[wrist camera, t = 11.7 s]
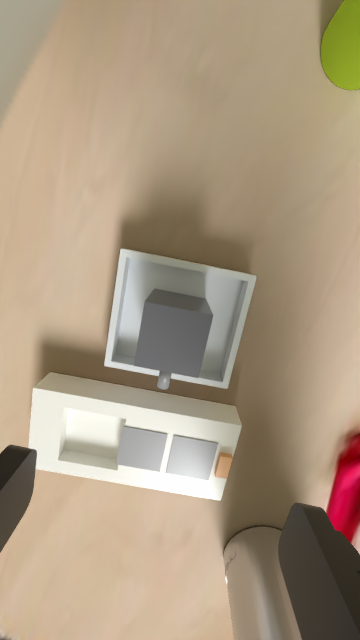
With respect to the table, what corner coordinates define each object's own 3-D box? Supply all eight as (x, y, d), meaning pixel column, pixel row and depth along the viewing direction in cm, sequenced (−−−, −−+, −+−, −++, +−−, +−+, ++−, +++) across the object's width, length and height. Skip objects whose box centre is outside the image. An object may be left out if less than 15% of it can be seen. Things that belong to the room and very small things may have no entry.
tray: (250, 273, 27) (257, 276, 25) (223, 377, 30) (227, 389, 27) (126, 248, 27) (120, 248, 24) (110, 356, 29) (103, 365, 27)
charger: (205, 298, 27) (213, 315, 20) (190, 365, 29) (193, 401, 22) (154, 288, 27) (144, 301, 20) (142, 356, 28) (129, 389, 22)
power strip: (235, 406, 30) (243, 429, 26) (216, 474, 33) (221, 505, 29) (50, 371, 30) (29, 390, 26) (43, 444, 32) (23, 472, 28)
